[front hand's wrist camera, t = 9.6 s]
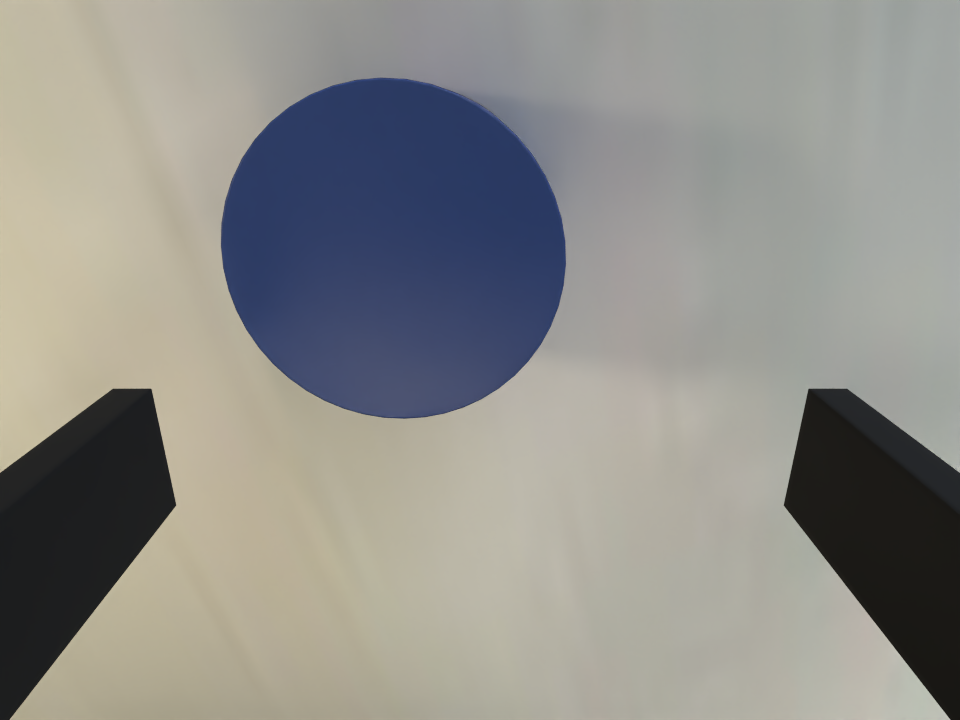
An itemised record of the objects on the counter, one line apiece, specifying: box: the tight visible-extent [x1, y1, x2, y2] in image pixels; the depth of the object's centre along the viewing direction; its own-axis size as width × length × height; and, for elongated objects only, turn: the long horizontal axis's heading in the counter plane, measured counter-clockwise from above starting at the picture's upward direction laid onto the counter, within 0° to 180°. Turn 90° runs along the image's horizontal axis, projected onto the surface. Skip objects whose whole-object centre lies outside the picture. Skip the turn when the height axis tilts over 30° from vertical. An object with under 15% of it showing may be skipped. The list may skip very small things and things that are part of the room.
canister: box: [221, 78, 566, 419], centre depth 20 cm, size 9×9×7 cm
